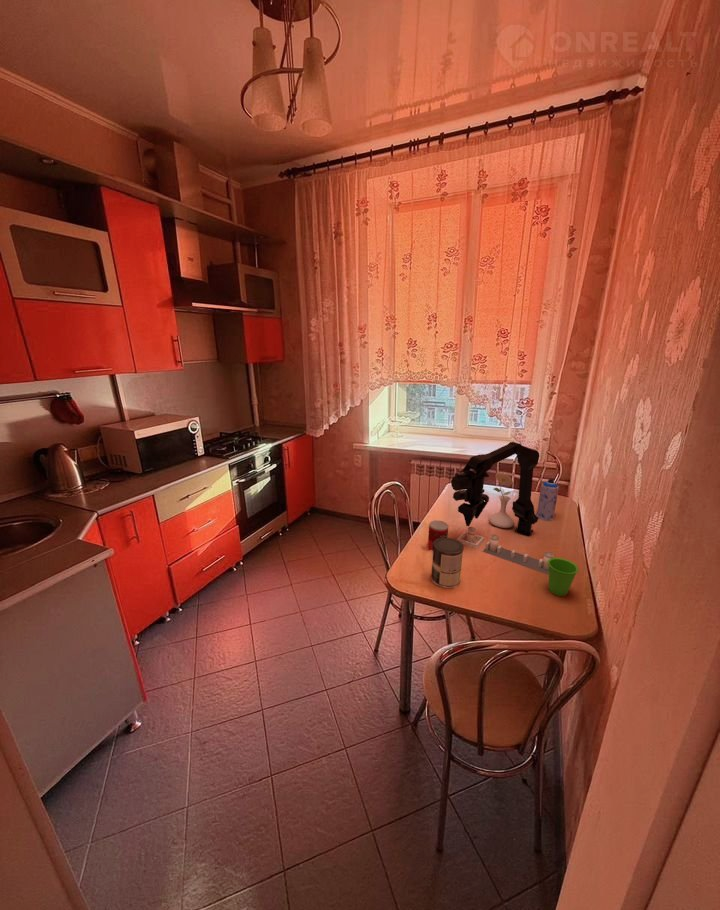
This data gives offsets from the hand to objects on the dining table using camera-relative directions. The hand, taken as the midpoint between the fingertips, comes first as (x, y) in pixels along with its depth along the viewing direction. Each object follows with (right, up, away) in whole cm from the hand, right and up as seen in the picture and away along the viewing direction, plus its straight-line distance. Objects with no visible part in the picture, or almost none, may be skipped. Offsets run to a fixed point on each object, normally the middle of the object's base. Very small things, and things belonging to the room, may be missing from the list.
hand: (472, 522), depth 150 cm
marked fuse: (0, -9, +3) cm, 9 cm away
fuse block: (+15, -13, -10) cm, 22 cm away
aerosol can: (+44, -3, +27) cm, 52 cm away
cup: (+20, -19, -28) cm, 40 cm away
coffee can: (-16, -17, -21) cm, 32 cm away
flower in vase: (+20, -5, +20) cm, 28 cm away
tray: (0, -9, +3) cm, 10 cm away
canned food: (-15, -11, -1) cm, 19 cm away
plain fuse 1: (+7, -11, -4) cm, 13 cm away
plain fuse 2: (+23, -14, -16) cm, 31 cm away
